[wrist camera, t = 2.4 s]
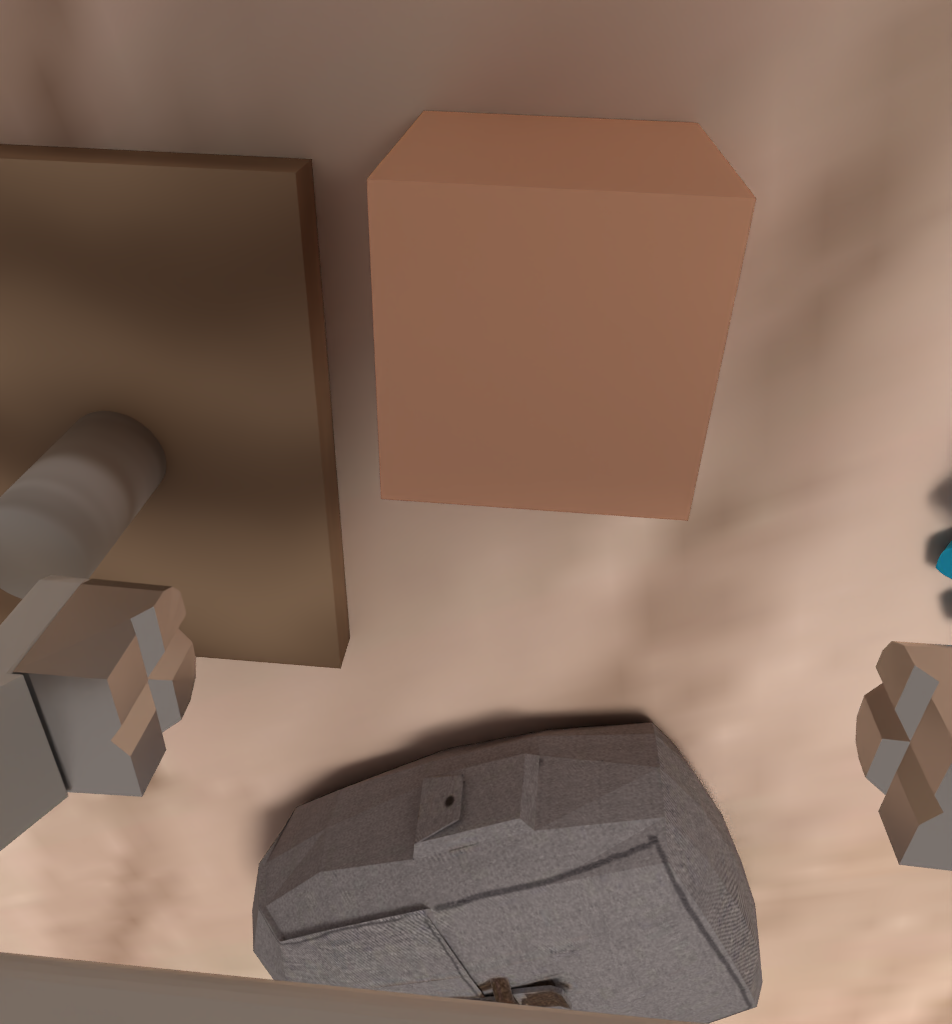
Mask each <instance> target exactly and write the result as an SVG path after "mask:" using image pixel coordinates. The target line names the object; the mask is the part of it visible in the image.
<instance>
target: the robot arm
mask: <svg viewBox="0 0 952 1024" xmlns="http://www.w3.org/2000/svg"><path fill="white" fill-rule="evenodd" d="M185 615H186V610H185V606H184V603H183V599H182V595H181V592H180V591H179V590H177V589H176V588H174V587H172V586H163V585H153V584H143V583H132V582H122V581H112V580H102V579H85V578H75V577H64V576H54V575H51V576H48V577H46V578H43V579H41V580H39V581H38V582H37V583H36V584H35V585H34V586H33V588H32V589H31V590H30V591H29V592H28V593H27V595H26V596H25V597H24V598H23V599H22V600H21V602H20V603H19V604H18V605H17V606H16V607H15V608H14V610H13V611H12V612H11V613H10V614H9V615H8V617H7V618H6V619H5V620H4V621H3V622H2V624H1V625H0V851H1V850H2V849H3V848H5V847H6V846H7V845H8V844H10V843H11V842H12V841H13V840H14V839H16V838H17V837H18V836H19V835H21V834H22V833H23V832H24V831H26V830H27V829H28V828H29V827H31V826H32V825H33V824H34V823H36V822H37V821H38V820H39V819H41V818H42V817H43V816H44V815H46V814H47V813H48V812H49V811H51V810H52V809H53V808H54V807H55V806H57V805H58V804H59V803H60V802H62V801H63V800H64V799H65V798H67V797H68V793H67V792H75V793H92V794H108V795H124V796H141V797H142V796H143V794H144V792H145V790H146V788H147V786H148V784H149V782H150V780H151V778H152V776H153V774H154V773H155V771H156V769H157V767H158V765H159V763H160V761H161V759H162V757H163V755H164V753H165V751H166V747H165V743H164V739H163V735H162V732H164V731H165V730H167V729H168V728H170V727H171V726H173V725H174V724H176V723H177V722H179V721H180V720H181V719H182V717H183V715H184V713H185V711H186V709H187V706H188V704H189V702H190V700H191V695H192V691H193V686H194V682H195V678H196V657H195V652H194V647H193V642H192V641H191V640H190V639H189V638H188V637H187V636H186V635H185V634H184V633H183V632H182V631H180V630H179V629H178V628H179V626H180V624H181V622H182V621H183V619H184V617H185ZM876 669H877V671H878V673H879V675H880V678H881V680H882V682H883V683H882V684H881V685H879V686H878V687H876V688H875V689H873V690H872V691H870V692H869V693H867V694H866V695H864V698H863V701H862V703H861V706H860V709H859V712H858V715H857V722H856V746H857V752H858V757H859V761H860V764H861V766H862V769H863V772H864V775H865V777H866V778H867V779H868V780H869V781H870V782H871V783H872V784H874V785H875V786H876V787H877V788H878V789H879V790H880V791H882V792H883V793H884V794H885V795H886V796H885V798H884V800H883V802H882V804H881V807H880V809H879V811H878V812H879V814H880V817H881V819H882V822H883V824H884V827H885V830H886V832H887V835H888V837H889V840H890V842H891V845H892V847H893V850H894V853H895V855H896V858H897V860H898V863H899V865H907V866H915V867H924V868H933V869H941V870H950V871H952V645H941V644H926V643H912V642H897V641H891V642H890V643H889V644H888V645H887V647H886V648H885V649H884V650H883V651H882V653H881V656H880V658H879V661H878V663H877V665H876ZM0 1024H708V1023H698V1022H688V1021H678V1020H668V1019H658V1018H648V1017H638V1016H628V1015H618V1014H608V1013H598V1012H588V1011H578V1010H568V1009H558V1008H548V1007H538V1006H528V1005H518V1004H509V1003H499V1002H489V1001H479V1000H469V999H459V998H449V997H439V996H429V995H419V994H409V993H399V992H389V991H379V990H369V989H360V988H350V987H340V986H330V985H320V984H310V983H300V982H290V981H280V980H270V979H260V978H251V977H241V976H231V975H221V974H211V973H201V972H191V971H181V970H171V969H162V968H152V967H142V966H132V965H122V964H112V963H102V962H92V961H82V960H73V959H63V958H53V957H43V956H33V955H23V954H13V953H3V952H0Z"/></svg>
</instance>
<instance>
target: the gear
mask: <svg viewBox="0 0 952 1024" xmlns="http://www.w3.org/2000/svg"><path fill="white" fill-rule="evenodd" d="M936 568H937V569H938V570H939V571H940V572H941V573H942V574H944V575H945V576H947V577H949V578H951V579H952V541H951V542H950V543H949V545H948V546H947V547H946V548H945V550H944V551H943V552H942V554H941V555H940V557H939V559H938V561H937V565H936Z"/></svg>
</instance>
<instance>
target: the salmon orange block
mask: <svg viewBox="0 0 952 1024" xmlns="http://www.w3.org/2000/svg"><path fill="white" fill-rule="evenodd" d="M367 199H368V221H369V243H370V265H371V287H372V309H373V332H374V354H375V376H376V398H377V420H378V442H379V465H380V487H381V499H389V500H403V501H418V502H432V503H446V504H460V505H474V506H488V507H503V508H517V509H531V510H545V511H559V512H573V513H588V514H602V515H616V516H630V517H644V518H659V519H673V520H687V521H688V519H689V514H690V509H691V505H692V500H693V495H694V490H695V486H696V481H697V476H698V471H699V467H700V462H701V457H702V452H703V448H704V443H705V438H706V434H707V429H708V424H709V419H710V415H711V410H712V405H713V400H714V396H715V391H716V386H717V381H718V377H719V372H720V367H721V362H722V358H723V353H724V348H725V344H726V339H727V334H728V329H729V325H730V320H731V315H732V310H733V306H734V301H735V296H736V291H737V287H738V282H739V277H740V272H741V268H742V263H743V258H744V254H745V249H746V244H747V239H748V235H749V230H750V225H751V220H752V216H753V211H754V206H755V201H756V198H755V196H754V195H753V194H752V192H751V191H750V190H749V188H748V187H747V186H746V185H745V183H744V182H743V181H742V179H741V178H740V177H739V176H738V174H737V173H736V172H735V170H734V169H733V168H732V166H731V165H730V164H729V163H728V161H727V160H726V159H725V157H724V156H723V155H722V154H721V152H720V151H719V150H718V148H717V147H716V146H715V144H714V143H713V142H712V141H711V139H710V138H709V137H708V135H707V134H706V133H705V132H704V130H703V129H702V128H701V126H700V125H699V124H698V123H691V122H668V121H646V120H623V119H601V118H578V117H556V116H534V115H511V114H489V113H466V112H444V111H423V112H422V114H421V115H420V116H419V117H418V118H417V120H416V121H415V122H414V123H413V124H412V126H411V127H410V128H409V129H408V130H407V132H406V133H405V134H404V135H403V136H402V138H401V139H400V140H399V141H398V142H397V143H396V145H395V146H394V147H393V148H392V149H391V151H390V152H389V153H388V154H387V155H386V157H385V158H384V159H383V160H382V161H381V163H380V164H379V165H378V166H377V167H376V169H375V170H374V171H373V172H372V173H371V175H370V176H369V177H368V178H367Z"/></svg>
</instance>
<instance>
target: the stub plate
mask: <svg viewBox="0 0 952 1024" xmlns="http://www.w3.org/2000/svg"><path fill="white" fill-rule="evenodd" d="M51 575H54V576H64V577H75V578H85V579H102V580H112V581H122V582H132V583H143V584H153V585H163V586H172V587H174V588H176V589H177V590H179V591H180V592H181V595H182V599H183V603H184V606H185V610H186V615H185V617H184V619H183V621H182V622H181V624H180V626H179V628H178V629H179V630H180V631H182V632H183V633H184V634H185V635H186V636H187V637H188V638H189V639H190V640H191V641H192V642H193V647H194V652H195V657H207V658H219V659H232V660H244V661H256V662H268V663H280V664H293V665H305V666H317V667H329V668H341V665H342V662H343V659H344V656H345V652H346V649H347V646H348V643H349V639H350V634H349V621H348V609H347V596H346V584H345V571H344V559H343V546H342V534H341V521H340V509H339V496H338V484H337V471H336V459H335V446H334V434H333V421H332V409H331V396H330V384H329V371H328V359H327V346H326V334H325V321H324V309H323V296H322V284H321V271H320V259H319V246H318V234H317V221H316V209H315V196H314V184H313V171H312V159H298V158H277V157H256V156H235V155H215V154H194V153H173V152H152V151H131V150H111V149H90V148H69V147H48V146H28V145H7V144H0V625H1V624H2V622H3V621H4V620H5V619H6V618H7V617H8V615H9V614H10V613H11V612H12V611H13V610H14V608H15V607H16V606H17V605H18V604H19V603H20V602H21V600H22V599H23V598H24V597H25V596H26V595H27V593H28V592H29V591H30V590H31V589H32V588H33V586H34V585H35V584H36V583H37V582H38V581H39V580H41V579H43V578H46V577H48V576H51Z"/></svg>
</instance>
